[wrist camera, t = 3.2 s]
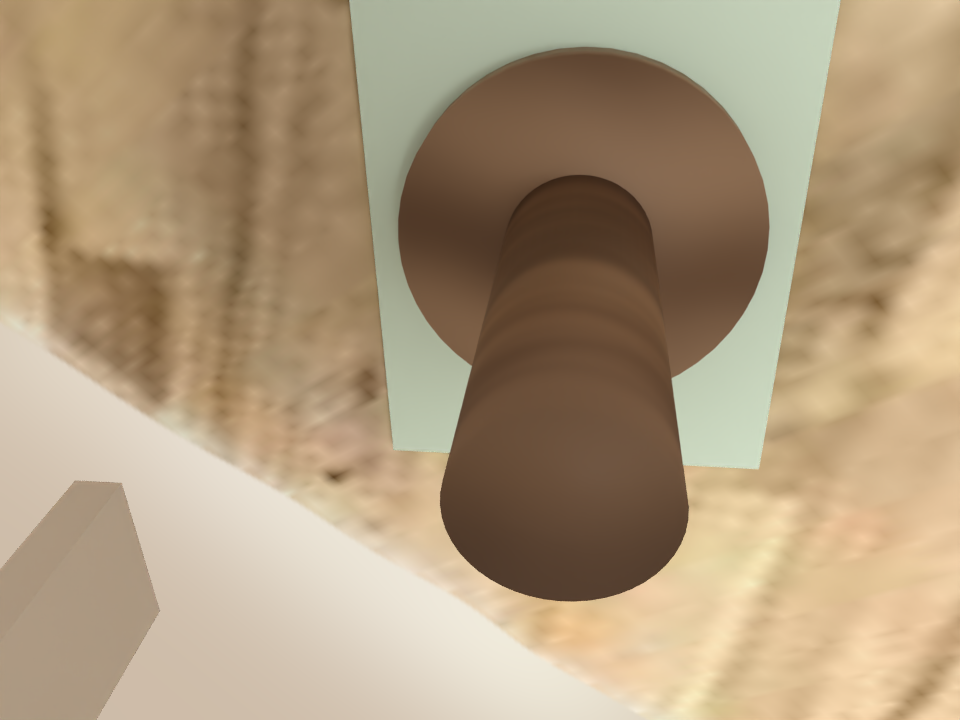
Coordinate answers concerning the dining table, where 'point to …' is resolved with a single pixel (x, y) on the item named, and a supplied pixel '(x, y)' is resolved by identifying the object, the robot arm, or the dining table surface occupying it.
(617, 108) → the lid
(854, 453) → the dining table surface
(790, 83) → the mat
